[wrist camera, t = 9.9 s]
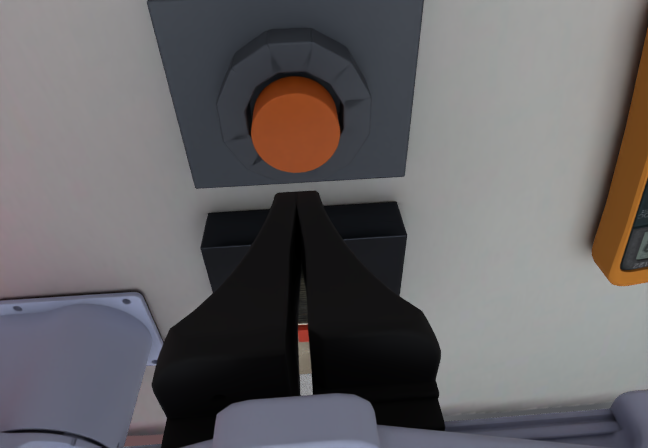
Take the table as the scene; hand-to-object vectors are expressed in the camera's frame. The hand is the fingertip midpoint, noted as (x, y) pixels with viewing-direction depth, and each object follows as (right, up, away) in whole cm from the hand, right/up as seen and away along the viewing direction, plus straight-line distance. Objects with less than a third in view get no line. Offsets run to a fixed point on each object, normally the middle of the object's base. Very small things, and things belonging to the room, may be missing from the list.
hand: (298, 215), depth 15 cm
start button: (0, +4, +5) cm, 6 cm away
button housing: (-1, +6, +7) cm, 9 cm away
